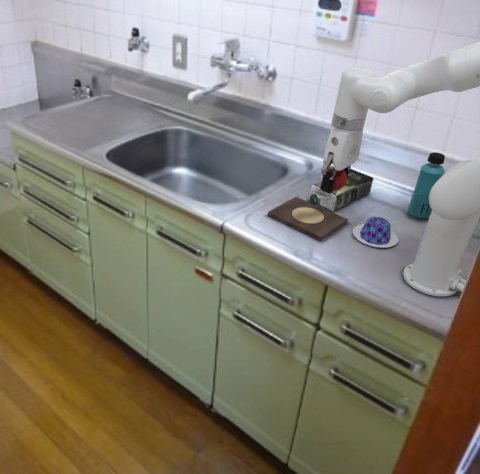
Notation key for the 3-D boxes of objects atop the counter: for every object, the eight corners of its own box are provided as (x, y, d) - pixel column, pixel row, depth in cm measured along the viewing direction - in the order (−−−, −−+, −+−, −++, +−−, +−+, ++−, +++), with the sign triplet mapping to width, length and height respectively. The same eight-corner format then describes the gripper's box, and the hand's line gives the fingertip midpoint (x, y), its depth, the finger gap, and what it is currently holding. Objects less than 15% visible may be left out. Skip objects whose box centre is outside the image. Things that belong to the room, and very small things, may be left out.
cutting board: (347, 223, 152) (348, 218, 152) (320, 241, 144) (321, 236, 144) (295, 200, 163) (295, 196, 162) (267, 216, 155) (268, 211, 154)
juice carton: (332, 213, 157) (336, 195, 153) (305, 201, 163) (309, 183, 160) (371, 194, 167) (375, 177, 164) (344, 183, 174) (348, 166, 170)
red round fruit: (344, 198, 135) (351, 169, 131) (321, 195, 136) (327, 167, 132) (342, 187, 140) (348, 160, 136) (319, 185, 141) (325, 157, 137)
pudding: (344, 237, 146) (348, 221, 143) (364, 221, 153) (368, 205, 151) (386, 255, 139) (391, 238, 136) (404, 237, 147) (410, 221, 144)
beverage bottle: (415, 224, 153) (436, 160, 142) (401, 212, 158) (419, 150, 147) (434, 221, 154) (456, 158, 143) (419, 210, 160) (439, 148, 149)
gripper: (343, 135, 120) (327, 203, 130) (379, 117, 130) (362, 182, 140) (315, 125, 125) (302, 192, 135) (352, 109, 135) (337, 172, 145)
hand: (333, 186), depth 137 cm, fingers closed on red round fruit, 6 cm apart
